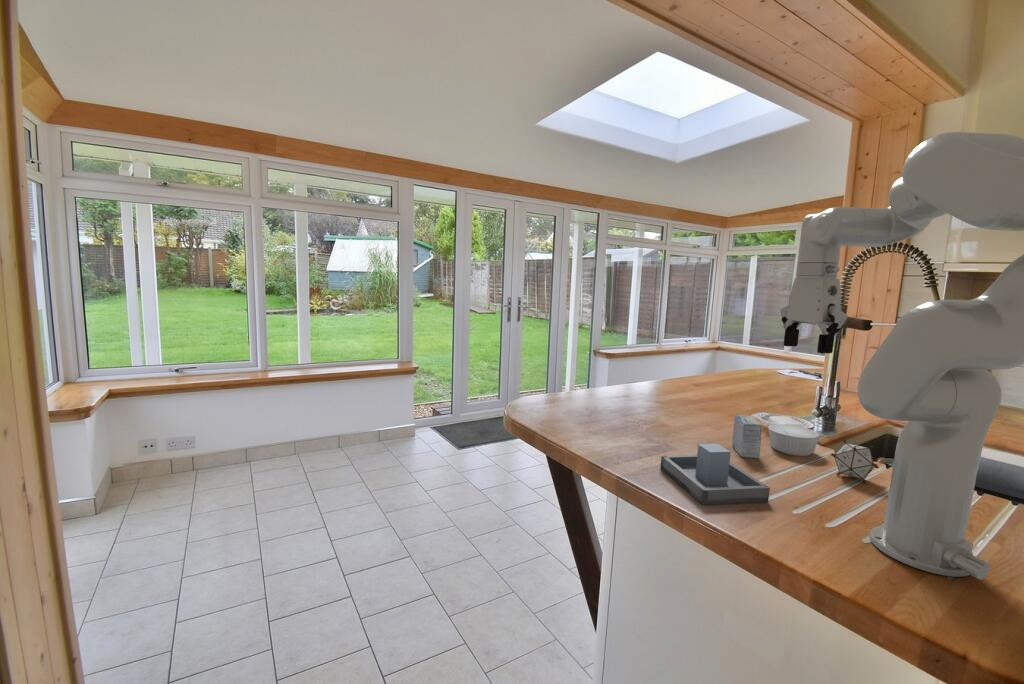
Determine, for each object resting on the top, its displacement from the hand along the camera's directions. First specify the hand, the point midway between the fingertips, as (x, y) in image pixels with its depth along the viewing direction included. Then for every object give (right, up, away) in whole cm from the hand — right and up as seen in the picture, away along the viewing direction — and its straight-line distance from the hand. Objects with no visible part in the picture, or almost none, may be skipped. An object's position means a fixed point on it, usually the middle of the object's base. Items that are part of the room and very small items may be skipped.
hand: (806, 349), depth 101 cm
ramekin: (+7, -27, +17) cm, 33 cm away
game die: (+11, -29, +1) cm, 31 cm away
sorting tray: (-24, -29, -5) cm, 38 cm away
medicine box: (-7, -27, +14) cm, 31 cm away
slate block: (-24, -28, -5) cm, 37 cm away
